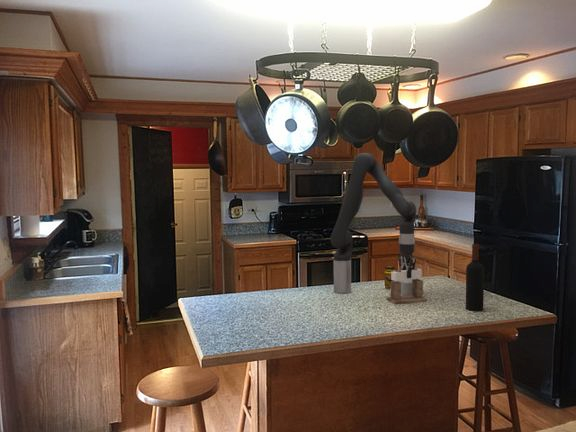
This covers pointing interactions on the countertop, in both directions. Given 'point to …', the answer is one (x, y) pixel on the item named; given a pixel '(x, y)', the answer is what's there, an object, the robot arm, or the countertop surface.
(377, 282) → the countertop surface
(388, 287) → the condiment
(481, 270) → the wine bottle
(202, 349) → the countertop surface
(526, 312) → the countertop surface
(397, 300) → the stand
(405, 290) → the paw print tray
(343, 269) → the robot arm
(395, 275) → the frame bar
